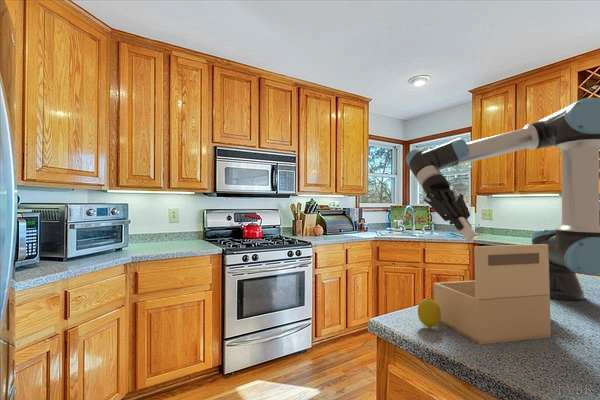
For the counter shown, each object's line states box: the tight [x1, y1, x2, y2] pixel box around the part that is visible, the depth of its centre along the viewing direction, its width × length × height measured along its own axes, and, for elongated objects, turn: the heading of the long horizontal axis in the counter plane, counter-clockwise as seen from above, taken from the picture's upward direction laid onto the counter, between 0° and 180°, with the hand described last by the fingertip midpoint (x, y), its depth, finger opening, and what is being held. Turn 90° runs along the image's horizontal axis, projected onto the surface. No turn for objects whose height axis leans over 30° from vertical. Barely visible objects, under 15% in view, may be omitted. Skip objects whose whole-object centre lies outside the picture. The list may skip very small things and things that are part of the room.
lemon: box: [417, 296, 441, 330], centre depth 75 cm, size 6×6×8 cm
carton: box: [432, 279, 552, 346], centre depth 76 cm, size 20×16×10 cm
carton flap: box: [473, 243, 550, 299], centre depth 69 cm, size 20×1×12 cm, turn 101°
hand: (471, 237), depth 80 cm, fingers closed
